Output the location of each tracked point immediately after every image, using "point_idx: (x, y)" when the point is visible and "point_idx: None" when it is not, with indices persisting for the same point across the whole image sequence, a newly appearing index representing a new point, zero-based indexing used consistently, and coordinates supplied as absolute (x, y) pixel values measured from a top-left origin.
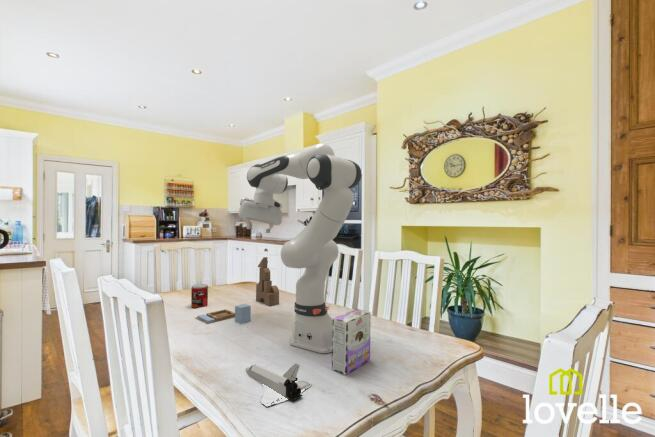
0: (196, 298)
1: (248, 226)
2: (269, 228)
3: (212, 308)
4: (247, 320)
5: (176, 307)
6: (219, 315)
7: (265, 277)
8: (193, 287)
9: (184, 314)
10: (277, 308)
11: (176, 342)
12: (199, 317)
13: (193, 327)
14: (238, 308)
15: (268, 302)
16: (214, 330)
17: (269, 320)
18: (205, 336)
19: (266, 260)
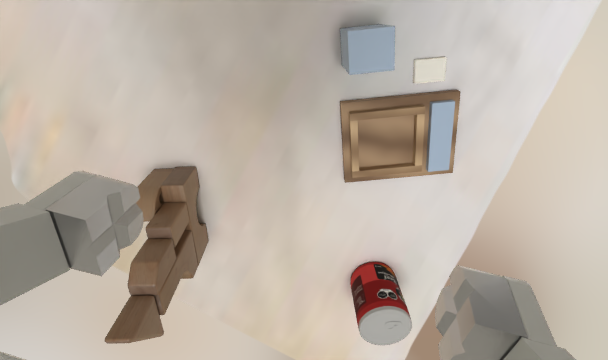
0: (396, 285)
1: (531, 306)
2: (35, 234)
3: (352, 244)
4: (354, 27)
5: (421, 301)
6: (386, 150)
7: (166, 247)
8: (410, 319)
9: (438, 235)
10: (180, 128)
11: (590, 12)
12: (449, 156)
13: (484, 112)
14: (393, 43)
15: (193, 175)
16: (458, 43)
17: (269, 19)
18: (508, 6)
19: (118, 324)
